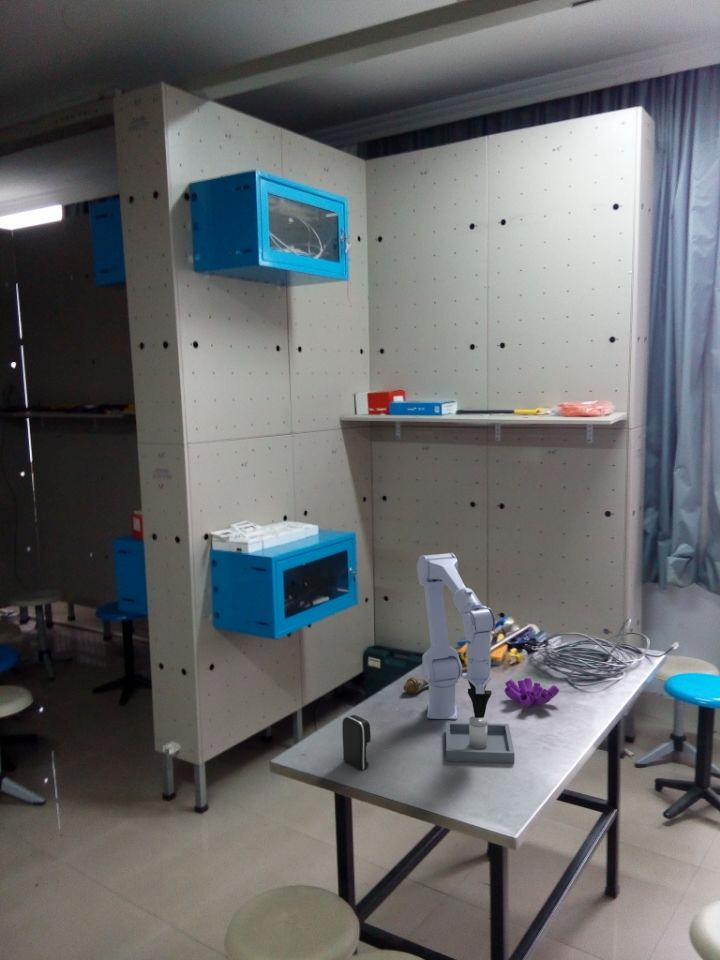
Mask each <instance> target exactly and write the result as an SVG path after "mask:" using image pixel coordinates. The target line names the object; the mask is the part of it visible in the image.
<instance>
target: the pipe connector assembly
mask: <svg viewBox="0 0 720 960" xmlns="http://www.w3.org/2000/svg"><path fill="white" fill-rule="evenodd" d="M504 684H505V688H504V689H503V692H504V693H505V695H506V697H508V698H509V699H510V700H511V701H513V702H515V703H519V704H522V705H523V706H524V707H527V708H529V707H533V706H542V705H544V704H547V703H549V702H550V701H552V699H553V698H555V696H557V695H558V694H559V692H560V688H558V686H556V685H555V684H553V685H552V686H551V687H549V688H548V689H545V688H544V687H542V686H541V683H539V682H534V684H533V681H532V677H525V678H524V679H522V680H518V681H517V684H516V683H515V681H514V680H513V679H512V678H510V679H509V680H507V681H506V682H504Z"/></svg>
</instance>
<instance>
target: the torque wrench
mask: <svg viewBox="0 0 720 960" xmlns="http://www.w3.org/2000/svg"><path fill="white" fill-rule="evenodd" d="M462 673H467V666H464V667H462ZM428 685H429V683H427V682H426V681H425V679H424V678H414V677H410V678H408V679H407V680H406V682H405V683H404V685H403V690H404V692H406V693H409V694H411V695H416V694H418V692H420V691H421V690H422V689H423V688H425V687H426V686H428Z"/></svg>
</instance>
